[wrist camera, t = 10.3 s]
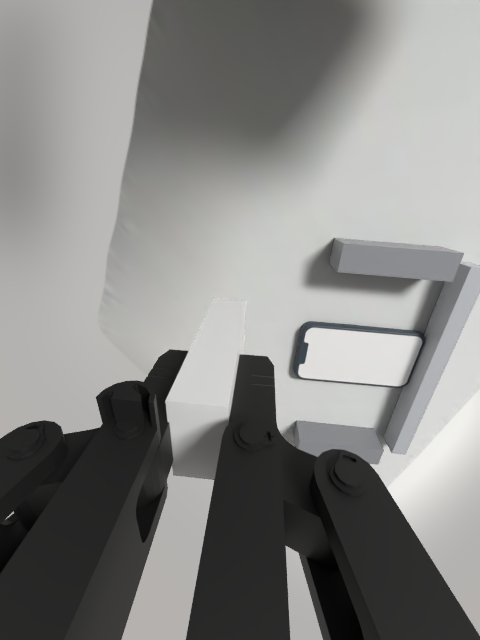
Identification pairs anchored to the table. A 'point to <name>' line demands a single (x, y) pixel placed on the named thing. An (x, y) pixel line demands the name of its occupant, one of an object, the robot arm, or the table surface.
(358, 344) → the smartphone
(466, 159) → the table surface
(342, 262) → the grey u-shaped piece
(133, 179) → the table surface
